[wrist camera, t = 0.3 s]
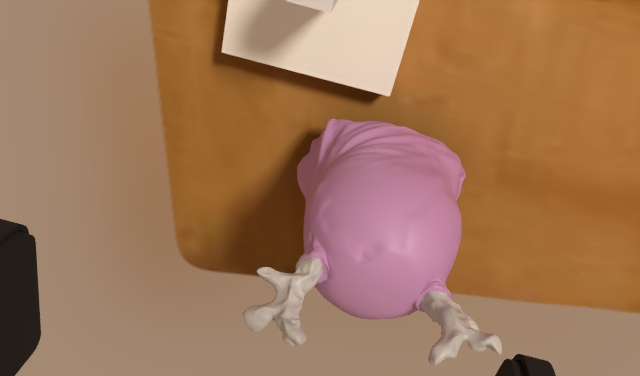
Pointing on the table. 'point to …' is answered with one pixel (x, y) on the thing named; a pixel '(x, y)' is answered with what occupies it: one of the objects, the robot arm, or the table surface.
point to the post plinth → (324, 37)
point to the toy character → (377, 234)
